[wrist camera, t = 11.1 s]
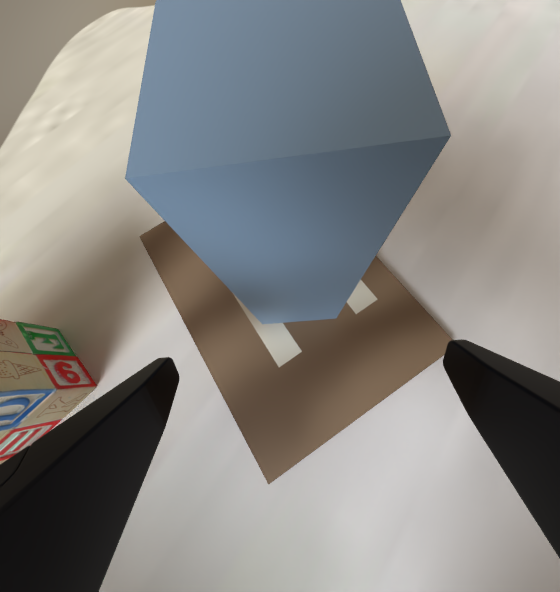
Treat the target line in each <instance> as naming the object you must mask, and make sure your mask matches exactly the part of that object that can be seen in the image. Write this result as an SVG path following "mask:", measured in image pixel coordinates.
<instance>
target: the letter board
mask: <svg viewBox="0 0 560 592" xmlns="http://www.w3.org/2000/svg"><path fill="white" fill-rule="evenodd" d="M140 238H141V240H142V242H143V244H144V246H145V248H146V250H147V252H148V254H149V256H150V258H151V260H152V261H153V263H154V265H155V267H156V269H157V271H158V273H159V275H160V277H161V279H162V281H163V283H164V284H165V286H166V288H167V290H168V292H169V294H170V296H171V298H172V300H173V302H174V304H175V306H176V308H177V309H178V311H179V313H180V315H181V317H182V319H183V321H184V323H185V325H186V327H187V329H188V331H189V332H190V334H191V336H192V338H193V340H194V342H195V344H196V346H197V348H198V350H199V352H200V354H201V356H202V357H203V359H204V361H205V363H206V365H207V367H208V369H209V371H210V373H211V375H212V377H213V379H214V381H215V382H216V384H217V386H218V388H219V390H220V392H221V394H222V396H223V398H224V400H225V402H226V404H227V405H228V407H229V409H230V411H231V413H232V415H233V417H234V419H235V421H236V423H237V425H238V427H239V429H240V430H241V432H242V434H243V436H244V438H245V440H246V442H247V444H248V446H249V448H250V450H251V452H252V453H253V455H254V457H255V459H256V461H257V463H258V465H259V467H260V469H261V471H262V473H263V475H264V477H265V478H266V480H267V482H268V484H270V483H271V482H272V481H274V480H275V479H277V478H278V477H279V476H281V475H282V474H283V473H285V472H286V471H287V470H289V469H290V468H291V467H293V466H294V465H295V464H297V463H298V462H300V461H301V460H302V459H304V458H305V457H306V456H308V455H309V454H310V453H312V452H313V451H314V450H316V449H317V448H319V447H320V446H321V445H323V444H324V443H325V442H327V441H328V440H329V439H331V438H332V437H333V436H335V435H336V434H338V433H339V432H340V431H342V430H343V429H344V428H346V427H347V426H348V425H350V424H351V423H352V422H354V421H355V420H357V419H358V418H359V417H361V416H362V415H363V414H365V413H366V412H367V411H369V410H370V409H371V408H373V407H374V406H375V405H377V404H378V403H380V402H381V401H382V400H384V399H385V398H386V397H388V396H389V395H390V394H392V393H393V392H394V391H396V390H397V389H399V388H400V387H401V386H403V385H404V384H405V383H407V382H408V381H409V380H411V379H412V378H413V377H415V376H416V375H418V374H419V373H420V372H422V371H423V370H424V369H426V368H427V367H428V366H430V365H431V364H432V363H434V362H435V361H436V360H438V359H439V358H441V357H442V356H443V355H445V351H446V348H447V344H448V342H449V341H451V340H452V339H451V338H450V337H449V335H448V334H447V333H446V332H445V331H444V330H443V329H442V328H441V327H440V326H439V324H438V323H437V322H436V321H435V320H434V319H433V318H432V317H431V316H430V315H429V314H428V312H427V311H426V310H425V309H424V308H423V307H422V306H421V305H420V304H419V303H418V302H417V300H416V299H415V298H414V297H413V296H412V295H411V294H410V293H409V292H408V291H407V289H406V288H405V287H404V286H403V285H402V284H401V283H400V282H399V281H398V280H397V279H396V277H395V276H394V275H393V274H392V273H391V272H390V271H389V270H388V269H387V268H386V267H385V265H384V264H383V263H382V262H381V261H380V260H379V259H378V258H377V257H376V256H375V257H374V259H373V261H372V262H371V264H370V265H369V267H368V268H367V270H366V272H365V273H364V275H363V276H362V278H361V280H360V281H359V283H358V284H357V286H356V288H355V289H354V291H353V292H352V294H351V296H350V297H349V299H348V300H347V302H346V304H345V305H344V307H343V308H342V310H341V311H340V313H339V315H338V316H337V318H336V319H324V320H311V321H299V322H286V323H273V324H262V323H261V322H260V321H259V320H258V319H257V318H256V317H255V316H254V315H253V314H252V313H251V312H250V311H249V310H248V309H247V307H246V306H245V305H244V304H243V303H242V302H241V301H240V300H239V299H238V298H237V297H236V296H235V295H234V294H233V293H232V292H231V290H230V289H229V288H228V287H227V286H226V285H225V284H224V283H223V282H222V281H221V280H220V279H219V278H218V277H217V276H216V275H215V273H214V272H213V271H212V270H211V269H210V268H209V267H208V266H207V265H206V264H205V263H204V262H203V261H202V260H201V259H200V258H199V256H198V255H197V254H196V253H195V252H194V251H193V250H192V249H191V248H190V247H189V246H188V245H187V244H186V243H185V242H184V241H183V239H182V238H181V237H180V236H179V235H178V234H177V233H176V232H175V231H174V230H173V229H172V228H171V227H170V226H169V225H168V224H167V222H166V221H164V222H163V223H161V224H159V225H158V226H156V227H154V228H153V229H151V230H149V231H148V232H146V233H144V234H143V235H141V236H140Z"/></svg>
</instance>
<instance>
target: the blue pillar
mask: <svg viewBox="0 0 560 592" xmlns="http://www.w3.org/2000/svg"><path fill="white" fill-rule="evenodd" d="M450 136H451V134H450V131H449V129H448V126H447V123H446V121H445V118H444V115H443V113H442V110H441V107H440V105H439V102H438V99H437V97H436V94H435V91H434V89H433V86H432V83H431V81H430V78H429V75H428V73H427V70H426V67H425V65H424V62H423V59H422V56H421V54H420V51H419V48H418V46H417V43H416V40H415V38H414V35H413V32H412V30H411V27H410V24H409V22H408V19H407V16H406V14H405V11H404V8H403V6H402V3H401V0H157V1H156V3H155V9H154V15H153V21H152V26H151V32H150V38H149V44H148V49H147V55H146V61H145V67H144V73H143V78H142V84H141V90H140V96H139V101H138V107H137V113H136V119H135V124H134V130H133V136H132V142H131V148H130V153H129V159H128V165H127V171H126V176H125V179H126V180H127V181H128V182H129V183H130V184H131V185H132V186H133V187H134V188H135V190H136V191H137V192H138V193H139V194H140V195H141V196H142V197H143V198H144V199H145V200H146V201H147V202H148V203H149V204H150V205H151V207H152V208H153V209H154V210H155V211H156V212H157V213H158V214H159V215H160V216H161V217H162V218H163V219H164V220H165V221H166V222H167V224H168V225H169V226H170V227H171V228H172V229H173V230H174V231H175V232H176V233H177V234H178V235H179V236H180V237H181V238H182V239H183V241H184V242H185V243H186V244H187V245H188V246H189V247H190V248H191V249H192V250H193V251H194V252H195V253H196V254H197V255H198V256H199V258H200V259H201V260H202V261H203V262H204V263H205V264H206V265H207V266H208V267H209V268H210V269H211V270H212V271H213V272H214V273H215V275H216V276H217V277H218V278H219V279H220V280H221V281H222V282H223V283H224V284H225V285H226V286H227V287H228V288H229V289H230V290H231V292H232V293H233V294H234V295H235V296H236V297H237V298H238V299H239V300H240V301H241V302H242V303H243V304H244V305H245V306H246V307H247V309H248V310H249V311H250V312H251V313H252V314H253V315H254V316H255V317H256V318H257V319H258V320H259V321H260V322H261V323H262V324H273V323H286V322H299V321H311V320H324V319H336V318H337V316H338V315H339V313H340V311H341V310H342V308H343V307H344V305H345V304H346V302H347V300H348V299H349V297H350V296H351V294H352V292H353V291H354V289H355V288H356V286H357V284H358V283H359V281H360V280H361V278H362V276H363V275H364V273H365V272H366V270H367V268H368V267H369V265H370V264H371V262H372V261H373V259H374V257H375V256H376V254H377V253H378V251H379V249H380V248H381V246H382V245H383V243H384V241H385V240H386V238H387V237H388V235H389V233H390V232H391V230H392V229H393V227H394V226H395V224H396V222H397V221H398V219H399V218H400V216H401V214H402V213H403V211H404V210H405V208H406V206H407V205H408V203H409V202H410V200H411V198H412V197H413V195H414V194H415V192H416V190H417V189H418V187H419V186H420V184H421V183H422V181H423V179H424V178H425V176H426V175H427V173H428V171H429V170H430V168H431V167H432V165H433V163H434V162H435V160H436V159H437V157H438V155H439V154H440V152H441V151H442V149H443V148H444V146H445V144H446V143H447V141H448V140H449V138H450Z"/></svg>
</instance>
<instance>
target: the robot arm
mask: <svg viewBox="0 0 560 592" xmlns="http://www.w3.org/2000/svg"><path fill="white" fill-rule="evenodd" d="M443 365H444V368H445V370H446V372H447V374H448V376H449V378H450V380H451V382H452V384H453V386H454V388H455V390H456V392H457V394H458V396H459V398H460V400H461V402H462V404H463V406H464V408H465V410H466V411H467V413H468V415H469V417H470V418H471V420H472V422H473V423H474V425H475V426H476V428H477V430H478V431H479V433H480V434H481V436H482V437H483V439H484V441H485V442H486V444H487V445H488V447H489V448H490V450H491V452H492V453H493V455H494V456H495V458H496V459H497V461H498V463H499V464H500V466H501V467H502V469H503V470H504V472H505V474H506V475H507V477H508V478H509V480H510V481H511V483H512V485H513V486H514V488H515V489H516V491H517V492H518V494H519V496H520V497H521V499H522V500H523V502H524V503H525V505H526V507H527V508H528V510H529V511H530V513H531V514H532V516H533V518H534V519H535V521H536V522H537V524H538V525H539V527H540V528H541V530H542V532H543V533H544V535H545V536H546V538H547V539H548V541H549V543H550V544H551V546H552V547H553V549H554V550H555V552H556V554H557V555H558V557H559V558H560V382H559V381H557V380H555V379H552V378H550V377H548V376H546V375H543V374H541V373H539V372H537V371H534V370H532V369H530V368H528V367H526V366H523V365H521V364H519V363H517V362H514V361H512V360H510V359H508V358H505V357H503V356H501V355H499V354H496V353H494V352H492V351H490V350H487V349H485V348H483V347H481V346H478V345H476V344H474V343H472V342H469V341H467V340H451V341H449V342H448V344H447V348H446V351H445V355H444V359H443ZM178 383H179V374H178V371H177V369H176V366H175V364H174V362H173V360H172V359H171V358H169V357H166V358H158V359H156V360H155V361H153V362H152V363H150V364H149V365H147V366H146V367H144V368H143V369H141V370H140V371H138V372H137V373H135V374H134V375H132V376H131V377H129V378H128V379H127V380H125V381H124V382H122V383H121V384H119V385H118V386H116V387H115V388H113V389H112V390H110V391H109V392H107V393H106V394H104V395H103V396H101V397H100V398H98V399H97V400H95V401H94V402H92V403H91V404H89V405H88V406H86V407H85V408H83V409H82V410H80V411H79V412H77V413H76V414H75V415H73V416H72V417H70V418H69V419H67V420H66V421H64V422H63V423H61V424H60V425H58V426H57V427H55V428H54V429H52V430H51V431H49V432H48V433H46V434H45V435H43V436H42V437H40V438H39V439H37V440H36V441H34V442H33V443H32V444H31V446H27V447H25V448H24V449H22V450H21V451H19V452H18V453H17V454H15V455H14V456H12V457H11V458H9V459H8V460H6V461H5V462H3V463H2V464H0V592H99V589H100V587H101V585H102V582H103V580H104V577H105V575H106V572H107V570H108V567H109V565H110V562H111V560H112V557H113V555H114V552H115V550H116V548H117V545H118V543H119V540H120V538H121V535H122V533H123V530H124V528H125V525H126V523H127V520H128V518H129V515H130V513H131V511H132V508H133V506H134V503H135V501H136V498H137V496H138V493H139V491H140V488H141V486H142V483H143V481H144V478H145V476H146V474H147V471H148V469H149V466H150V464H151V461H152V459H153V456H154V454H155V451H156V449H157V446H158V444H159V441H160V439H161V436H162V434H163V431H164V429H165V426H166V423H167V420H168V417H169V414H170V410H171V407H172V403H173V400H174V397H175V393H176V390H177V387H178Z"/></svg>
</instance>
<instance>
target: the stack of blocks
mask: <svg viewBox="0 0 560 592" xmlns="http://www.w3.org/2000/svg"><path fill="white" fill-rule="evenodd" d="M96 387H97V385H96V384H95V382H94V381H93V379H92V378H91V376H90V375H89V373H88V372H87V370H86V369H85V367H84V366H83V365H82V363H81V362H80V360H79V359H78V357H76V355H75V354H74V352H73V351H72V349H71V348H70V346H69V345H68V343H67V342H66V340H65V339H64V337H63V336H62V334H61V333H60V331H59V330H58V329H55V328H50V327H45V326H39V325H34V324H28V323H22V322H11V321H7V320H1V319H0V464H2V463H3V462H5V461H6V460H8V459H9V458H11V457H12V456H14V455H15V454H17V453H18V452H19V451H21V450H22V449H24V448H25V447H27V446H31V444H32V443H33V442H34V441H36V440H37V439H39V438H40V437H42V436H43V435H45V434H46V433H48V432H49V431H50V430H51V429H52V428H53V427H54V426H55V425H56V424H58V423H59V422H60V421H61V420H62V418H64V417H65V416H66V415H68V414H69V413H70V412H71V411H72V410H73V409H74V408H75V407H76V406H77V405H78V404H79V403H80V402H82V401H83V400H84V399H85V398H86V397H87V396H88V395H89V394H90V393H91V392H92V391H93V390H94V389H95V388H96Z"/></svg>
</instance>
